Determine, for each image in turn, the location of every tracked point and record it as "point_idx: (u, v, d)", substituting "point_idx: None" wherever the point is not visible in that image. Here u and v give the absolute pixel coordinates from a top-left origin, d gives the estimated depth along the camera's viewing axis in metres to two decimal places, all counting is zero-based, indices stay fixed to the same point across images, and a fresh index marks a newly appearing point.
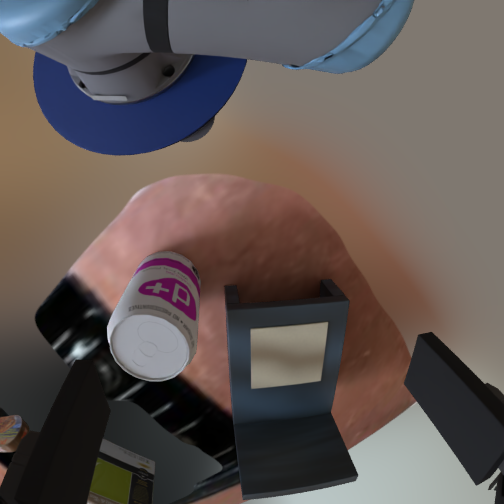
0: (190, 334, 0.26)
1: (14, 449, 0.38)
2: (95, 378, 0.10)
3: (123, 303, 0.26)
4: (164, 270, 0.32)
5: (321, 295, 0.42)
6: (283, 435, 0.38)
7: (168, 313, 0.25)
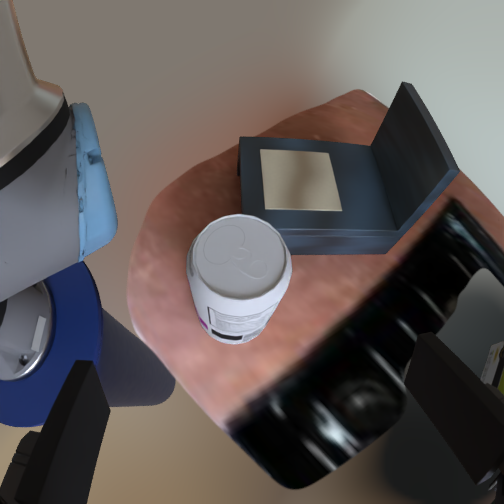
0: None
1: None
2: (95, 378, 0.10)
3: (192, 288, 0.24)
4: None
5: None
6: (394, 174, 0.36)
7: (199, 235, 0.25)
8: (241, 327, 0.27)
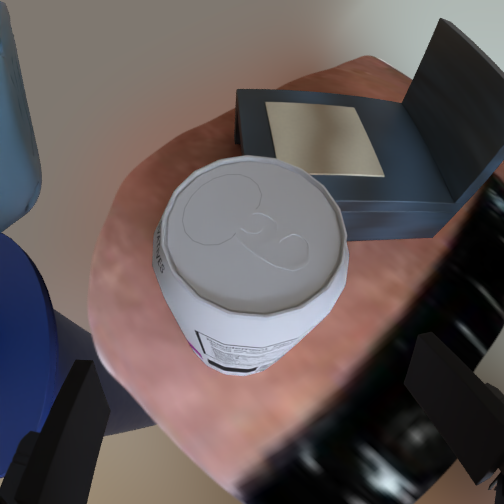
0: None
1: None
2: (95, 378, 0.10)
3: None
4: None
5: None
6: (442, 130, 0.25)
7: None
8: (258, 359, 0.15)
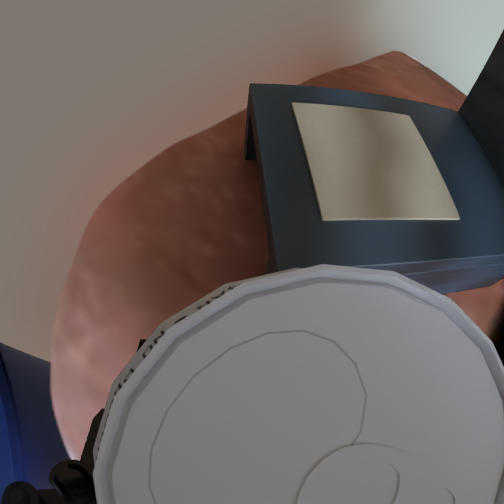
0: None
1: None
2: None
3: None
4: None
5: None
6: None
7: (126, 378, 0.04)
8: None
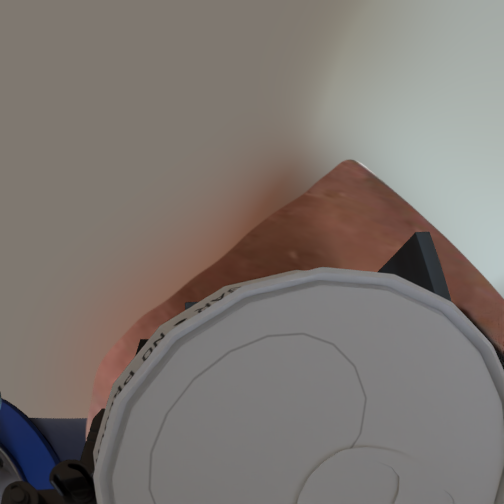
0: None
1: None
2: None
3: None
4: None
5: None
6: None
7: (126, 381, 0.04)
8: None
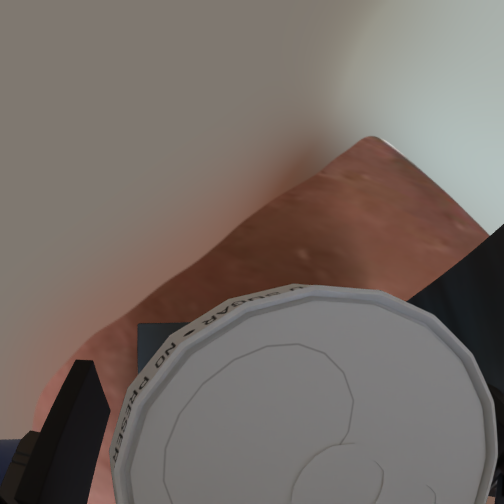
0: (255, 298, 0.06)
1: None
2: (95, 378, 0.10)
3: None
4: None
5: None
6: None
7: (141, 386, 0.05)
8: None
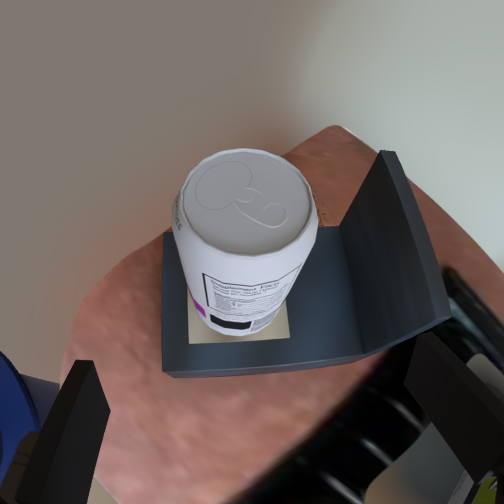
0: None
1: None
2: (95, 378, 0.10)
3: (180, 248, 0.17)
4: None
5: None
6: (364, 280, 0.28)
7: None
8: (250, 306, 0.20)
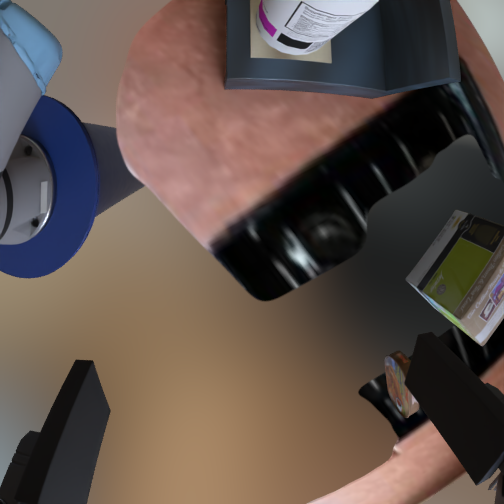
0: None
1: None
2: (95, 378, 0.10)
3: None
4: None
5: None
6: (395, 37, 0.28)
7: None
8: (322, 30, 0.22)
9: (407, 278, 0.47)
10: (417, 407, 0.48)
